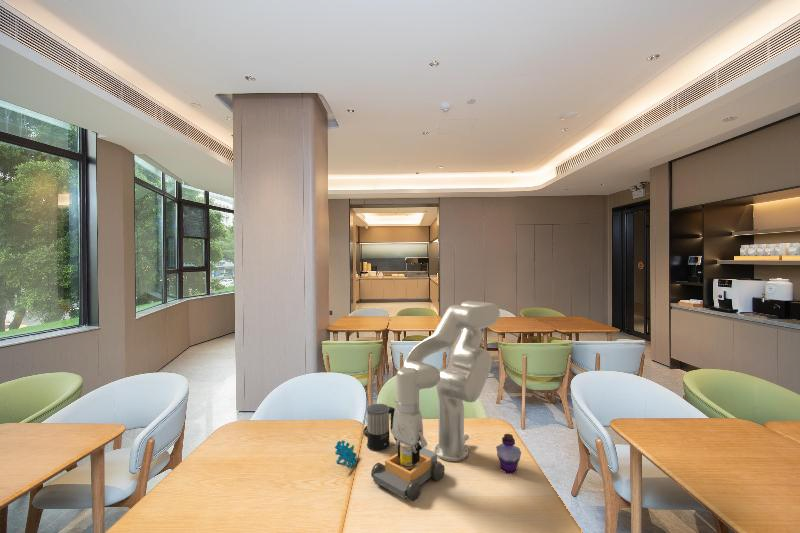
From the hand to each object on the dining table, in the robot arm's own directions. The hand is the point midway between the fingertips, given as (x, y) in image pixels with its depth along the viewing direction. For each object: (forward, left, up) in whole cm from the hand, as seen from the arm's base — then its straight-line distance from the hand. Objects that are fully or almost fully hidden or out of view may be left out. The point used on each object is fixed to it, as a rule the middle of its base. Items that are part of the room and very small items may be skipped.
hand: (408, 458), depth 122 cm
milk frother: (-11, -27, -7) cm, 30 cm away
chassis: (0, 0, -7) cm, 7 cm away
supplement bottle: (0, 0, -2) cm, 2 cm away
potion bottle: (-27, +23, -7) cm, 36 cm away
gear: (+8, -23, -7) cm, 25 cm away
